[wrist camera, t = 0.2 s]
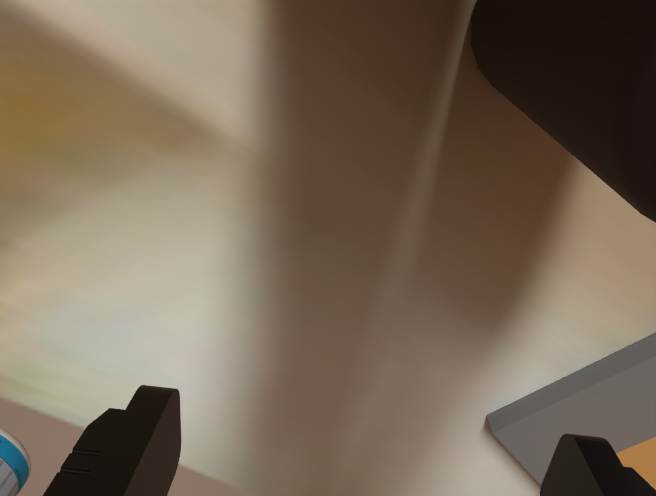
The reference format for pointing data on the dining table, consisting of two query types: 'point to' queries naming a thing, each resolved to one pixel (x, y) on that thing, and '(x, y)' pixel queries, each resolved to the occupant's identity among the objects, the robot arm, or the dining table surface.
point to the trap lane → (584, 408)
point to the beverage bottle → (12, 464)
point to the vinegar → (580, 80)
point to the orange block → (641, 460)
